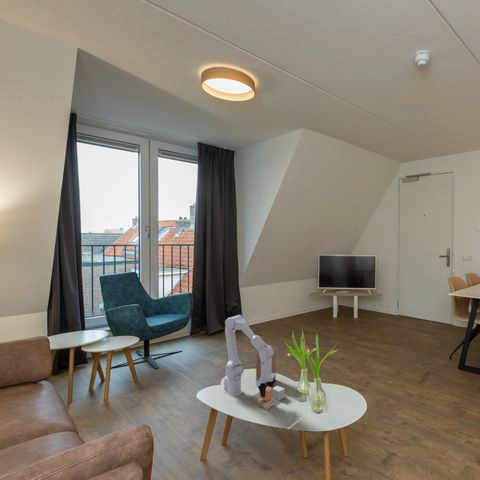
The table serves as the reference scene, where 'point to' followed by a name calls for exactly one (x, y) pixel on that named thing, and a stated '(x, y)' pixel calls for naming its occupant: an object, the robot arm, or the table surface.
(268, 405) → the maple block
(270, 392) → the terracotta cube
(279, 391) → the blue-grey cube
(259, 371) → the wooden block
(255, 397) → the grey square mat
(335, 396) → the table surface
